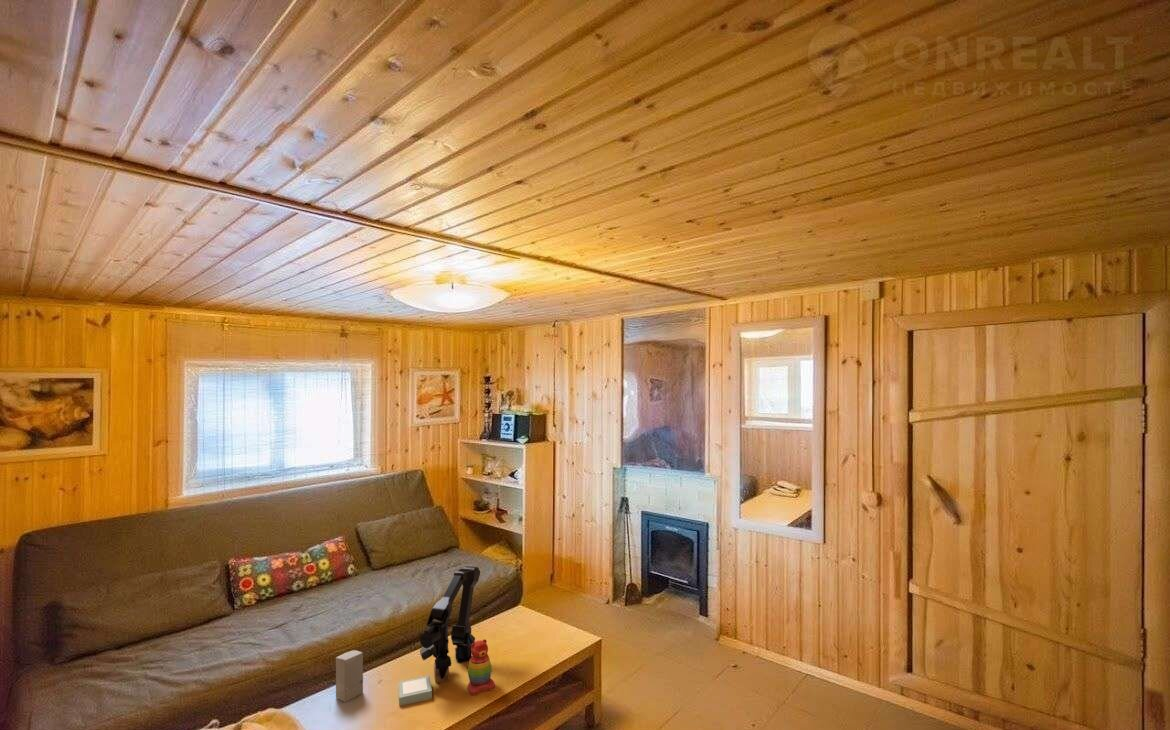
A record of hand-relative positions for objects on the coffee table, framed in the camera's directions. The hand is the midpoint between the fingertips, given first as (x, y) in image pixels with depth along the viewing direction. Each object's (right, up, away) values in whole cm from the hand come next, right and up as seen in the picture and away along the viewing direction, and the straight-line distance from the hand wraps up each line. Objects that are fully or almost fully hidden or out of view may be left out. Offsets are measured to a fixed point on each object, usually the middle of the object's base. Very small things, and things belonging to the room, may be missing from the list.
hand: (441, 675), depth 220 cm
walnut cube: (0, -1, 0) cm, 1 cm away
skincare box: (-34, -2, -11) cm, 35 cm away
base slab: (-7, -1, -11) cm, 14 cm away
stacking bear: (+18, -1, -7) cm, 19 cm away
